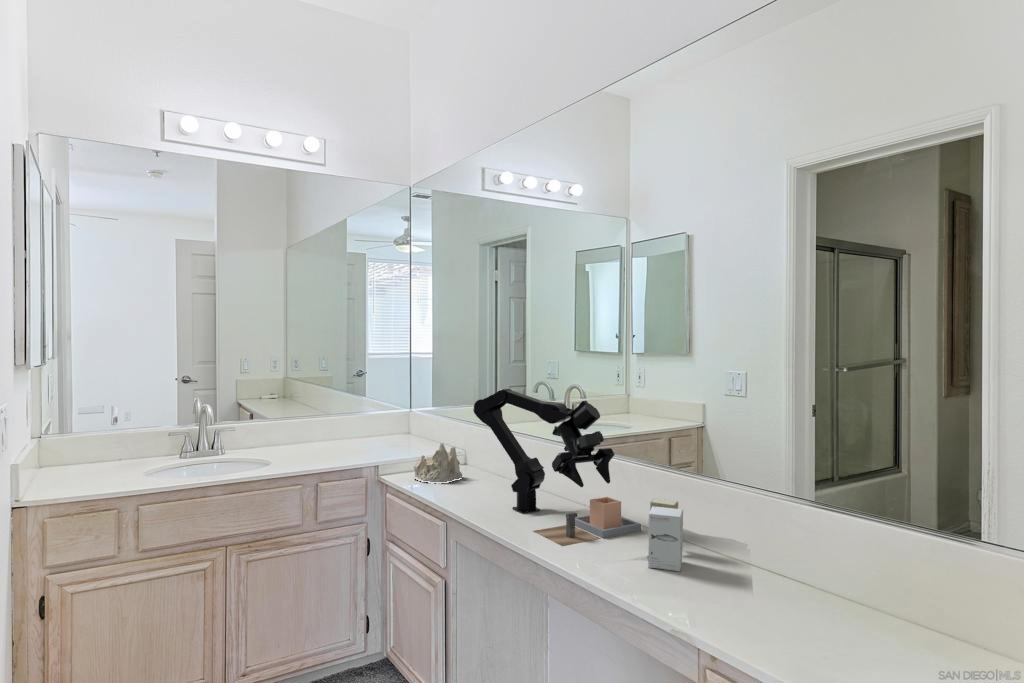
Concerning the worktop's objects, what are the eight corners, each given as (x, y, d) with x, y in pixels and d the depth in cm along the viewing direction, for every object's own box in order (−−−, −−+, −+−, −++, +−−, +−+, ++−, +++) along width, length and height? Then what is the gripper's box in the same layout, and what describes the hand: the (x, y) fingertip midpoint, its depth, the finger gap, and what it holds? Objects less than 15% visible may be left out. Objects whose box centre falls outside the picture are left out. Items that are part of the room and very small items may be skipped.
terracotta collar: (586, 527, 169) (586, 498, 169) (603, 524, 172) (603, 495, 172) (603, 534, 163) (603, 504, 163) (621, 531, 166) (621, 501, 166)
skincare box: (648, 550, 153) (648, 501, 153) (653, 545, 157) (653, 497, 157) (674, 554, 150) (674, 504, 150) (678, 549, 154) (678, 500, 154)
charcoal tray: (570, 529, 170) (570, 517, 170) (608, 522, 176) (608, 511, 176) (602, 544, 158) (602, 531, 158) (641, 536, 164) (641, 523, 164)
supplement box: (647, 568, 141) (647, 513, 141) (651, 557, 148) (651, 505, 148) (680, 572, 138) (680, 516, 138) (683, 561, 145) (683, 508, 145)
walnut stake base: (532, 536, 164) (532, 508, 164) (569, 529, 170) (569, 502, 170) (562, 552, 151) (562, 521, 152) (601, 544, 157) (601, 515, 157)
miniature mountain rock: (468, 478, 234) (466, 438, 234) (436, 487, 221) (433, 445, 222) (441, 475, 244) (438, 437, 244) (408, 483, 232) (406, 443, 232)
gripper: (557, 424, 171) (581, 471, 161) (610, 420, 180) (635, 464, 170) (542, 448, 177) (563, 494, 168) (594, 443, 187) (617, 487, 177)
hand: (596, 484), depth 171 cm, fingers open, 9 cm apart
